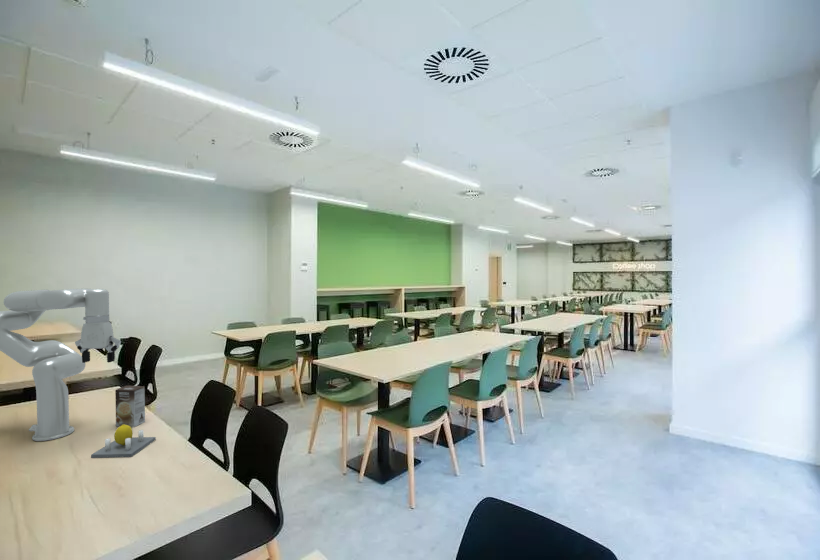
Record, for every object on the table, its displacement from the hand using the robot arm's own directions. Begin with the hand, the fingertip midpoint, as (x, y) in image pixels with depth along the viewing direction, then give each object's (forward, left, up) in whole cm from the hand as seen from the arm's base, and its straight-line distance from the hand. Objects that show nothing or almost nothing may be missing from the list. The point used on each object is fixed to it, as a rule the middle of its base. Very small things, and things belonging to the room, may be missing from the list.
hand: (98, 361), depth 155 cm
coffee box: (+4, +12, -31) cm, 33 cm away
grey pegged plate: (+18, -12, -30) cm, 37 cm away
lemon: (+18, -12, -29) cm, 36 cm away
